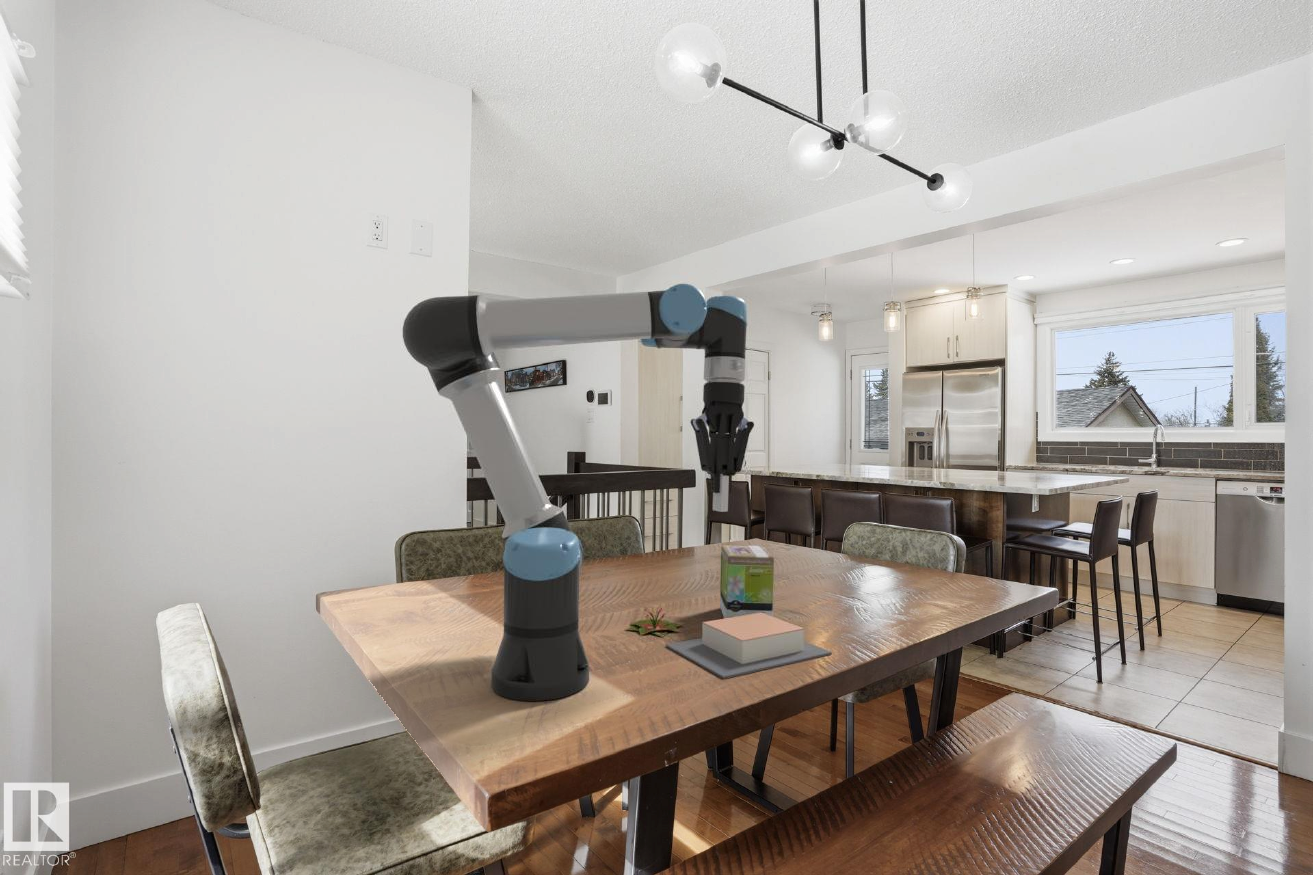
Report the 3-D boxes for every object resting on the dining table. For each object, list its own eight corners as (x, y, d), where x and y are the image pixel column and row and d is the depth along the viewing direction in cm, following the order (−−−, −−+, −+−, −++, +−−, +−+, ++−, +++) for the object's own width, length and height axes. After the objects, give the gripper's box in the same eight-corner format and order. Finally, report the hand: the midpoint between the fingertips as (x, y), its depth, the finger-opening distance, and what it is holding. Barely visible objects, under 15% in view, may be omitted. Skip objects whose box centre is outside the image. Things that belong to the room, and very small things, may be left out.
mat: (723, 678, 100) (723, 676, 100) (665, 646, 115) (665, 644, 115) (831, 654, 112) (831, 651, 112) (766, 627, 127) (766, 625, 127)
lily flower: (693, 627, 129) (694, 605, 129) (666, 643, 118) (666, 619, 118) (644, 618, 135) (644, 597, 135) (613, 633, 124) (613, 610, 124)
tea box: (774, 628, 127) (775, 556, 127) (725, 627, 127) (726, 555, 128) (763, 608, 142) (763, 543, 142) (719, 607, 142) (719, 543, 143)
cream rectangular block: (742, 640, 105) (803, 628, 112) (702, 622, 116) (761, 612, 123) (742, 663, 105) (803, 650, 112) (702, 643, 116) (760, 632, 123)
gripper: (706, 378, 108) (701, 514, 108) (765, 383, 114) (761, 512, 114) (683, 381, 114) (679, 509, 114) (740, 386, 121) (736, 507, 120)
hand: (720, 510), depth 114 cm, fingers closed
